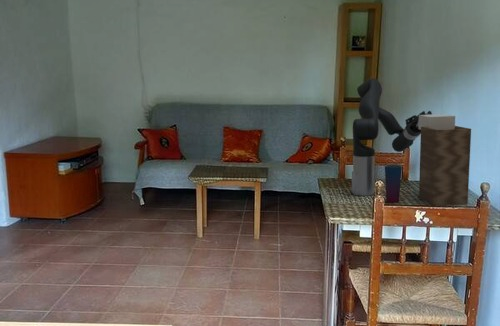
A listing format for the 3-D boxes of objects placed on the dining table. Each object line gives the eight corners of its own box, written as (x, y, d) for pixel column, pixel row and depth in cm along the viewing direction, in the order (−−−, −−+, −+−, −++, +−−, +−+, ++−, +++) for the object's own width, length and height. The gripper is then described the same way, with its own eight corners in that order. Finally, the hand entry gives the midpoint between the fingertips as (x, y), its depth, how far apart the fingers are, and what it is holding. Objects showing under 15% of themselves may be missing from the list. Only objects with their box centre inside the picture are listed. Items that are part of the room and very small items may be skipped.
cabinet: (432, 205, 183) (435, 130, 178) (418, 197, 197) (420, 126, 192) (467, 204, 184) (471, 128, 179) (451, 195, 198) (454, 125, 192)
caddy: (429, 131, 188) (429, 116, 187) (409, 126, 209) (410, 113, 208) (454, 130, 189) (455, 116, 188) (432, 126, 209) (433, 112, 208)
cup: (404, 202, 190) (405, 166, 187) (390, 204, 188) (390, 167, 185) (394, 198, 196) (395, 163, 193) (380, 200, 194) (381, 165, 192)
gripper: (397, 122, 219) (410, 105, 203) (426, 121, 220) (441, 104, 203) (400, 137, 217) (413, 121, 200) (429, 136, 217) (444, 120, 201)
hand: (427, 112), depth 202 cm, fingers closed on caddy, 2 cm apart
